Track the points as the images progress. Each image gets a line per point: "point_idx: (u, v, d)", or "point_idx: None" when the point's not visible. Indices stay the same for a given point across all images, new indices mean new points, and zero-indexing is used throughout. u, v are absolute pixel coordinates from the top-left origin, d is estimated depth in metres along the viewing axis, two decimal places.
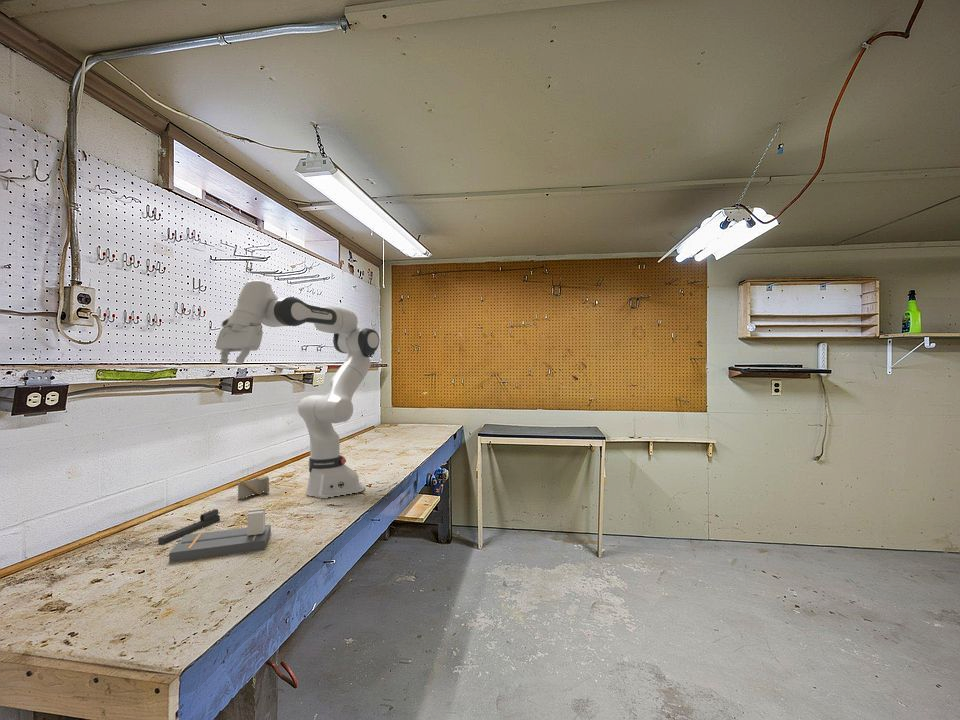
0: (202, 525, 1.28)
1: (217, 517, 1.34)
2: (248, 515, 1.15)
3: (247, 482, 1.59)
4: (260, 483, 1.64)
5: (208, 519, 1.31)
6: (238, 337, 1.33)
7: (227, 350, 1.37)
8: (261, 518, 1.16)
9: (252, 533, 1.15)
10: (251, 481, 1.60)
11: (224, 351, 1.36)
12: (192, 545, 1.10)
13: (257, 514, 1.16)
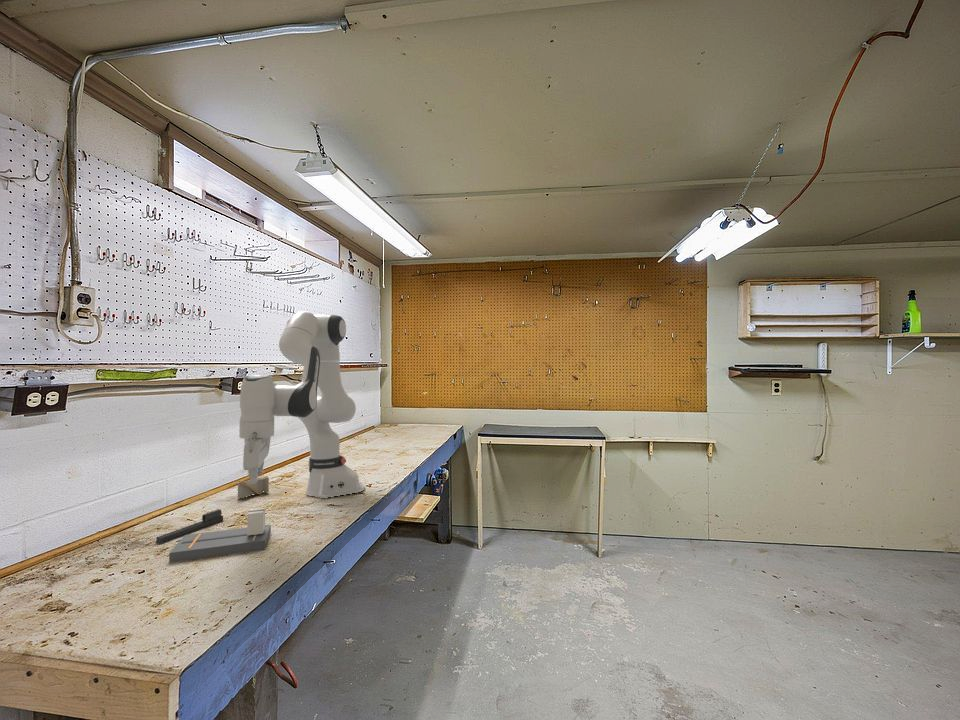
0: (203, 525, 1.28)
1: (220, 517, 1.33)
2: (248, 515, 1.15)
3: (247, 482, 1.59)
4: (260, 483, 1.64)
5: (210, 519, 1.30)
6: None
7: None
8: (261, 518, 1.16)
9: (252, 533, 1.15)
10: None
11: None
12: (192, 545, 1.10)
13: (257, 514, 1.16)
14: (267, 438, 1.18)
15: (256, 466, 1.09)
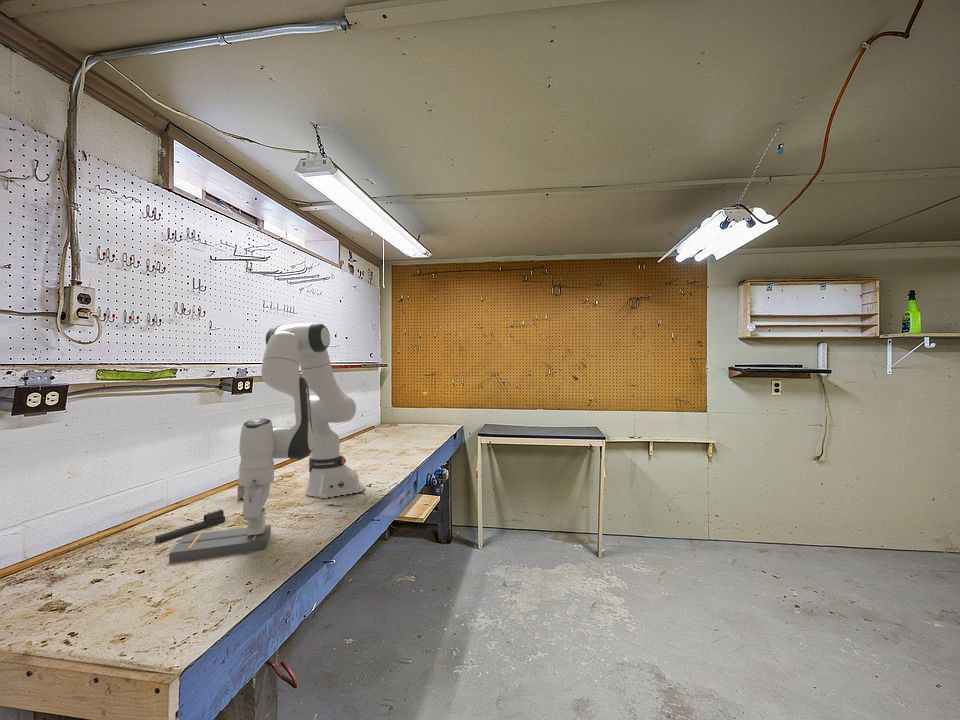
0: (204, 525, 1.28)
1: (222, 518, 1.33)
2: None
3: None
4: None
5: (211, 520, 1.30)
6: None
7: None
8: (261, 518, 1.16)
9: (252, 533, 1.15)
10: None
11: None
12: (192, 545, 1.10)
13: None
14: (267, 484, 1.18)
15: (256, 516, 1.09)
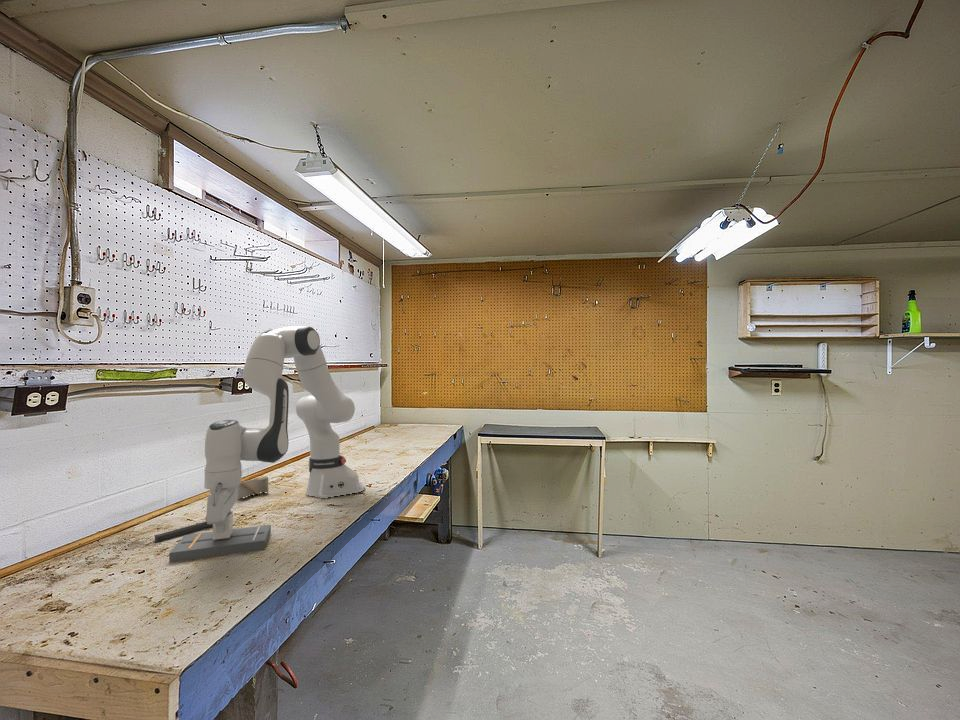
0: (205, 526, 1.28)
1: None
2: None
3: (246, 482, 1.58)
4: (259, 483, 1.63)
5: None
6: None
7: None
8: (227, 522, 1.13)
9: (218, 537, 1.13)
10: (250, 481, 1.60)
11: None
12: (192, 545, 1.10)
13: None
14: (234, 487, 1.15)
15: (220, 520, 1.06)
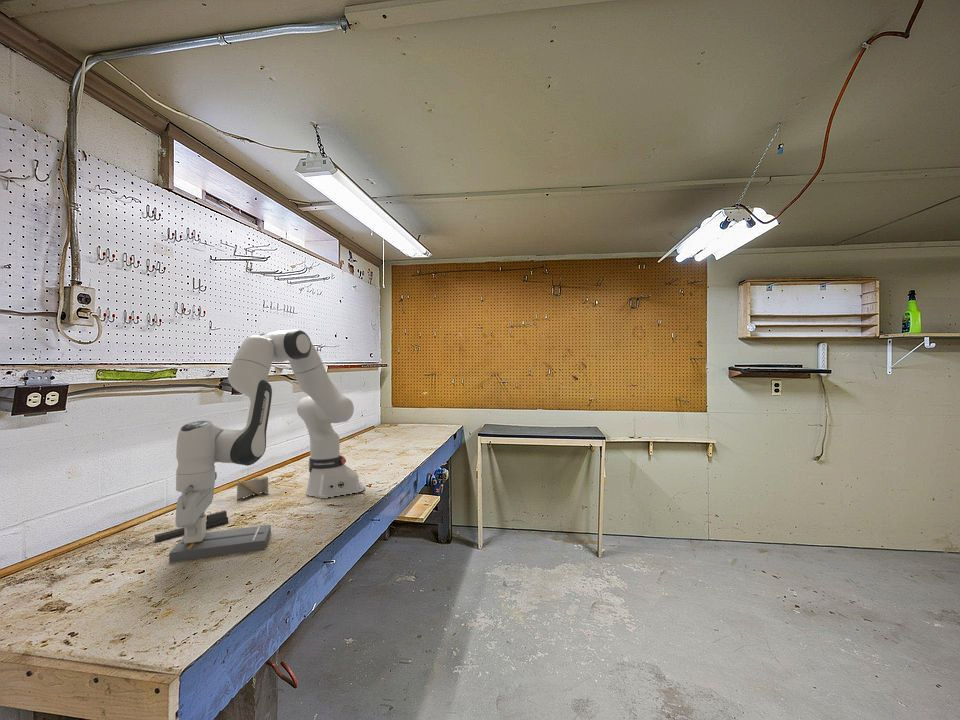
0: (206, 526, 1.28)
1: (225, 519, 1.32)
2: None
3: (246, 482, 1.58)
4: (259, 483, 1.63)
5: (214, 520, 1.29)
6: None
7: None
8: (199, 525, 1.11)
9: (190, 541, 1.10)
10: (250, 481, 1.60)
11: None
12: (192, 545, 1.10)
13: None
14: (206, 489, 1.12)
15: (190, 523, 1.04)
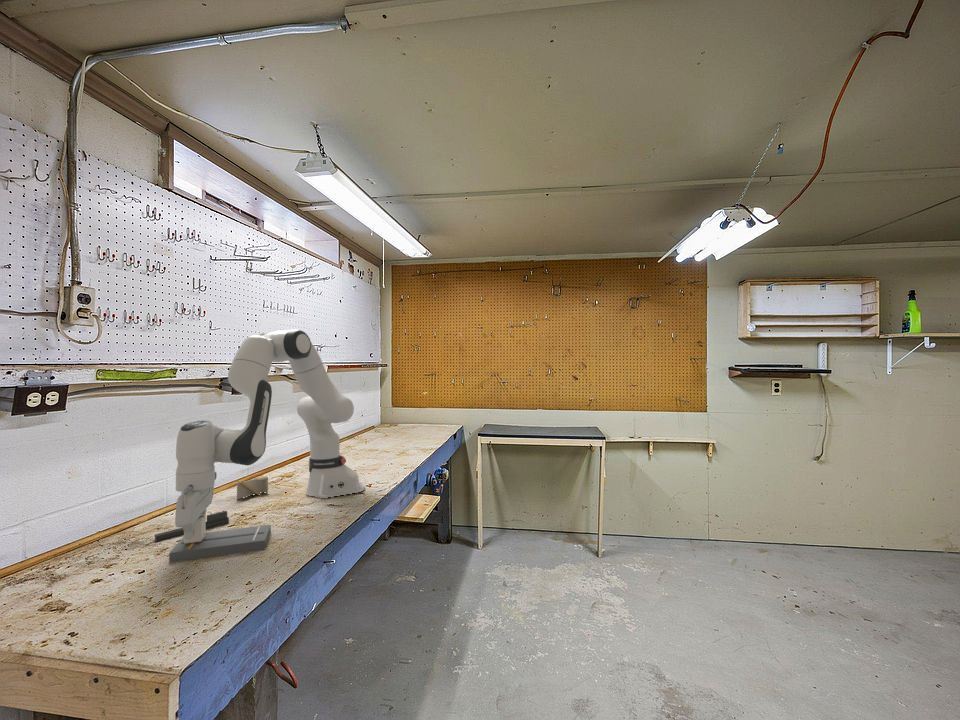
0: (206, 526, 1.27)
1: (226, 519, 1.32)
2: None
3: (246, 482, 1.58)
4: (259, 483, 1.63)
5: (214, 521, 1.29)
6: None
7: None
8: (199, 525, 1.11)
9: (189, 541, 1.10)
10: (250, 481, 1.60)
11: None
12: (192, 545, 1.10)
13: (195, 521, 1.11)
14: (206, 489, 1.12)
15: (189, 523, 1.04)
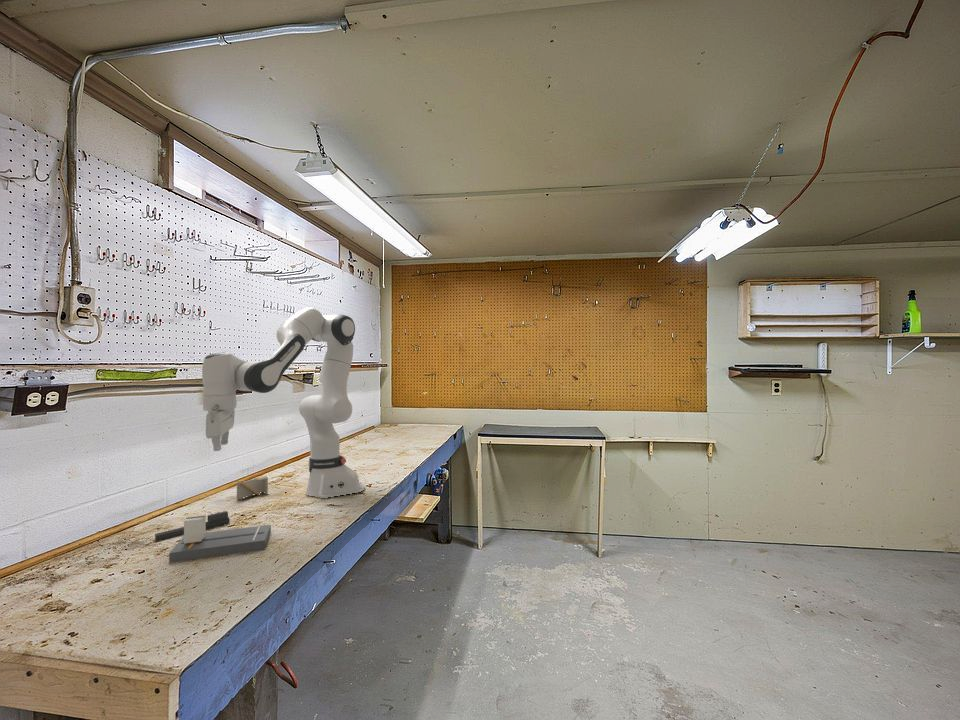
0: (206, 526, 1.27)
1: (226, 520, 1.31)
2: (185, 522, 1.10)
3: (246, 482, 1.58)
4: (259, 483, 1.63)
5: (214, 521, 1.29)
6: None
7: None
8: (199, 525, 1.11)
9: (189, 541, 1.10)
10: (250, 481, 1.60)
11: None
12: (192, 545, 1.10)
13: (195, 521, 1.11)
14: (229, 410, 1.29)
15: (218, 435, 1.20)
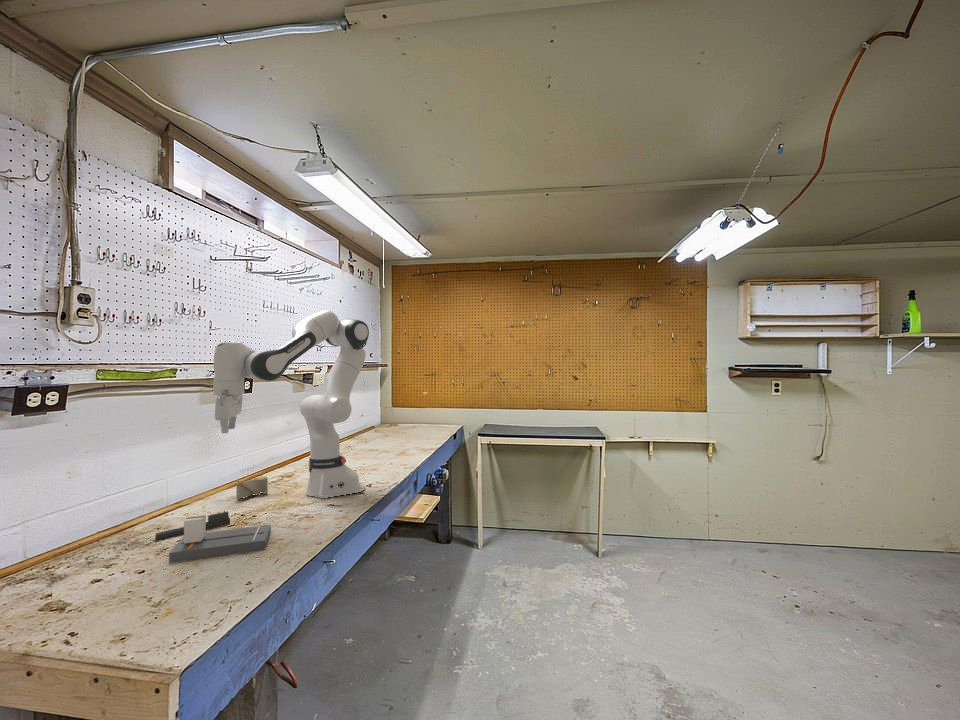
0: (206, 526, 1.27)
1: (227, 520, 1.31)
2: (185, 522, 1.10)
3: (246, 483, 1.58)
4: (259, 484, 1.63)
5: (215, 521, 1.29)
6: None
7: None
8: (199, 525, 1.11)
9: (189, 541, 1.10)
10: (250, 482, 1.60)
11: (229, 417, 1.41)
12: (192, 545, 1.10)
13: (195, 521, 1.11)
14: (237, 396, 1.36)
15: (226, 417, 1.28)
